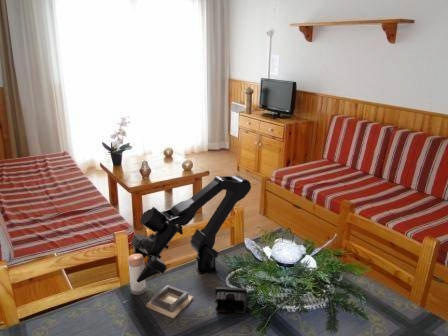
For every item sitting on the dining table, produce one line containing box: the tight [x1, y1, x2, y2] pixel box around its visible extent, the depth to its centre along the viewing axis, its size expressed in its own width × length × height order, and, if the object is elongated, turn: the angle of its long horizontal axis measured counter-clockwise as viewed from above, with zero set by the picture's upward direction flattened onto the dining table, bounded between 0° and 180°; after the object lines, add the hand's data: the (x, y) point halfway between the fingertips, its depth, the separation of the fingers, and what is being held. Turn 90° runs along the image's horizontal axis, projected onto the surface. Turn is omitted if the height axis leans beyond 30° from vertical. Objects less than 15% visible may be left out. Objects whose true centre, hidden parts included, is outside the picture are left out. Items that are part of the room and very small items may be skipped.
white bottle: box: [127, 254, 147, 296], centre depth 128 cm, size 5×5×13 cm
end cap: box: [214, 286, 248, 317], centre depth 121 cm, size 10×7×7 cm
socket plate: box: [145, 284, 194, 319], centre depth 124 cm, size 11×11×3 cm
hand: (133, 274), depth 127 cm, fingers open, 9 cm apart
